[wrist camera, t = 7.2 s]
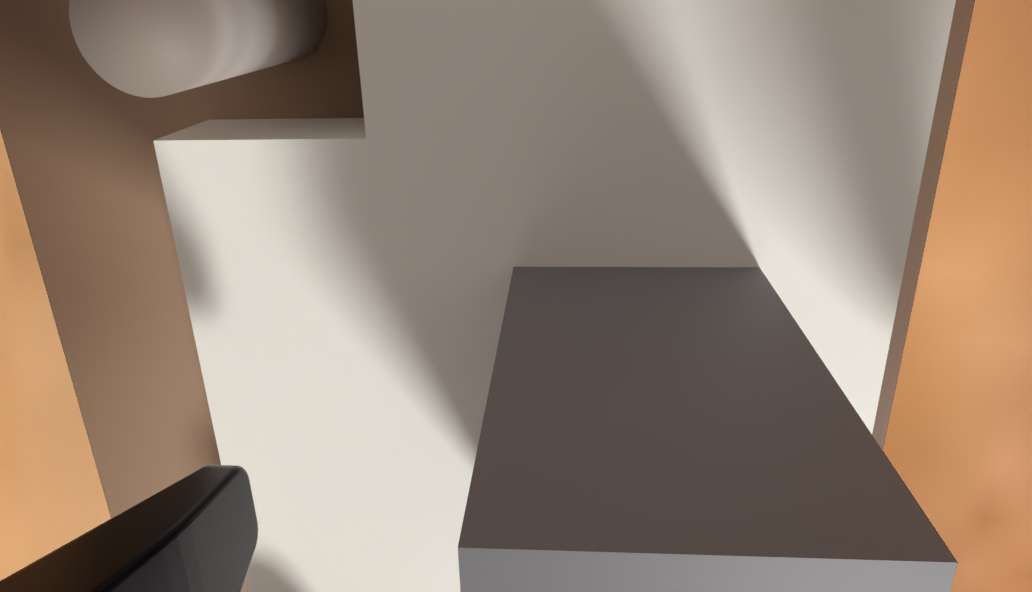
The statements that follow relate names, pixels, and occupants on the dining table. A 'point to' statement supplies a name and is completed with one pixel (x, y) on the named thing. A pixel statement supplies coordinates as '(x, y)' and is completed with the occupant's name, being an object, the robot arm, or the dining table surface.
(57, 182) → the peg board
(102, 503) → the dining table surface
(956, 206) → the dining table surface
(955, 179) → the dining table surface
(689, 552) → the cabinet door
